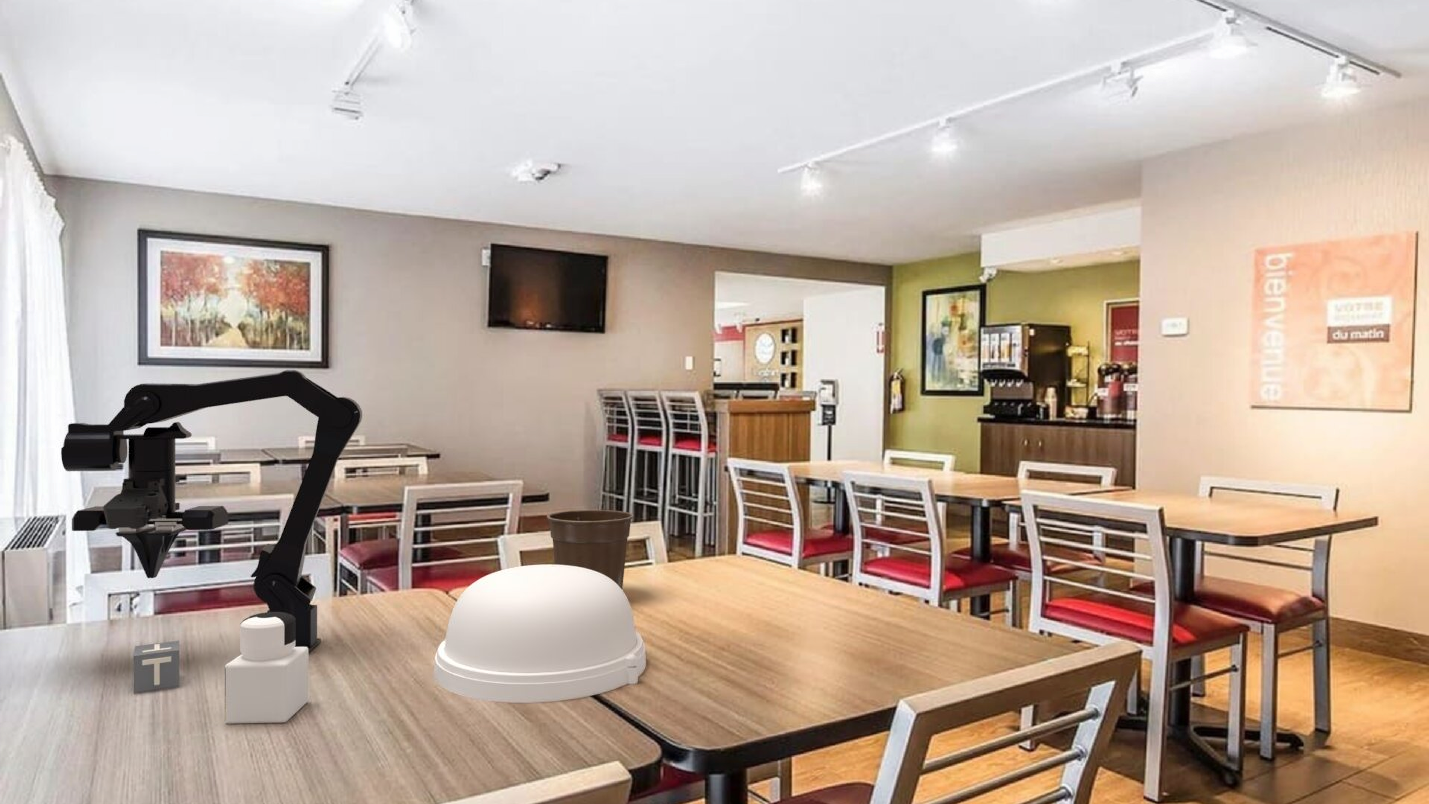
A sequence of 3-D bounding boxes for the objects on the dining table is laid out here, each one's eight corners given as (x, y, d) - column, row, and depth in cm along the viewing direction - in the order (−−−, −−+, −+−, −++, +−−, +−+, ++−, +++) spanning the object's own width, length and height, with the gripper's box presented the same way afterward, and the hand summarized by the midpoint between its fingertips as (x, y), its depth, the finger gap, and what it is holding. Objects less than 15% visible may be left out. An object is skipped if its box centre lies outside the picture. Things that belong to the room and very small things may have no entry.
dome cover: (688, 655, 133) (689, 563, 132) (572, 721, 106) (573, 606, 106) (520, 627, 147) (521, 544, 147) (380, 680, 120) (381, 578, 120)
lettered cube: (135, 683, 117) (135, 645, 117) (178, 676, 120) (178, 639, 120) (133, 695, 113) (133, 655, 113) (179, 688, 116) (179, 649, 115)
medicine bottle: (250, 702, 110) (251, 608, 110) (309, 701, 111) (309, 607, 111) (223, 724, 103) (223, 623, 103) (286, 723, 104) (286, 623, 104)
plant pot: (561, 587, 175) (562, 507, 175) (640, 591, 173) (641, 509, 172) (534, 608, 159) (534, 519, 158) (620, 612, 157) (621, 522, 156)
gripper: (46, 475, 117) (46, 591, 117) (194, 475, 119) (194, 589, 120) (95, 468, 128) (95, 574, 129) (229, 468, 130) (229, 572, 131)
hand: (152, 577), depth 127 cm, fingers closed
